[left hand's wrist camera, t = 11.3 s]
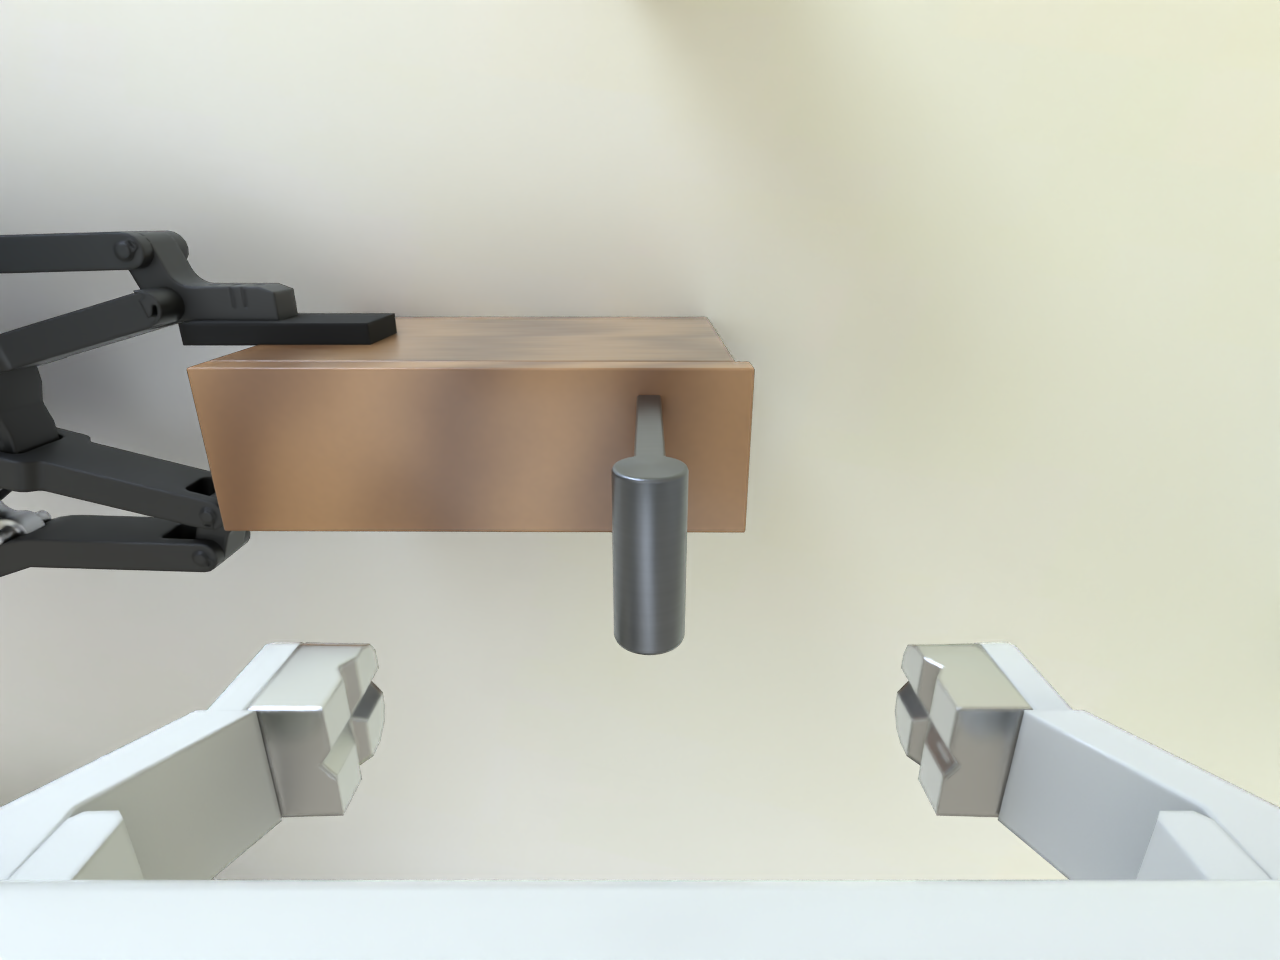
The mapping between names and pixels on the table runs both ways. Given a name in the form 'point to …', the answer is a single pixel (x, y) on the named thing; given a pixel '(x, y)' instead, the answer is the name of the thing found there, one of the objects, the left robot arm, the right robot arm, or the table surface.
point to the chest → (520, 341)
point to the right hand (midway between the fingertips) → (392, 408)
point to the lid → (492, 457)
